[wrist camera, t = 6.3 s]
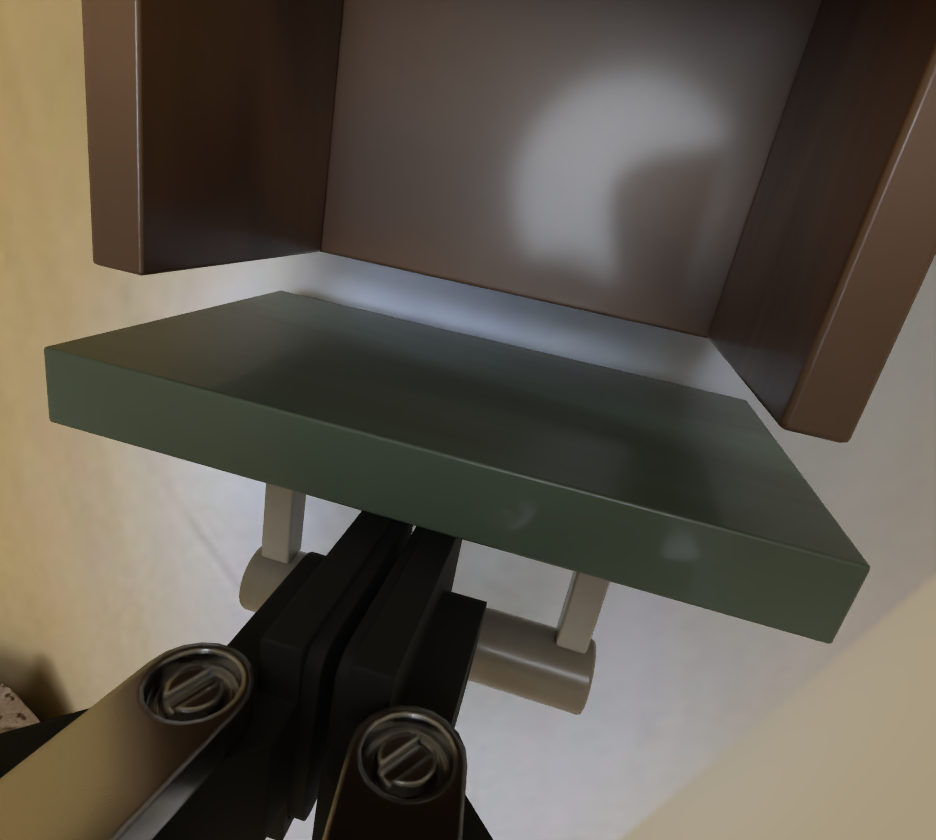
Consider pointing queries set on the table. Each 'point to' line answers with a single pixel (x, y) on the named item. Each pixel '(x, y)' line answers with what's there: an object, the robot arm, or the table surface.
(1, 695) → the mechanical counter
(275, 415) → the drawer
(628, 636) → the table surface
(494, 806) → the table surface
